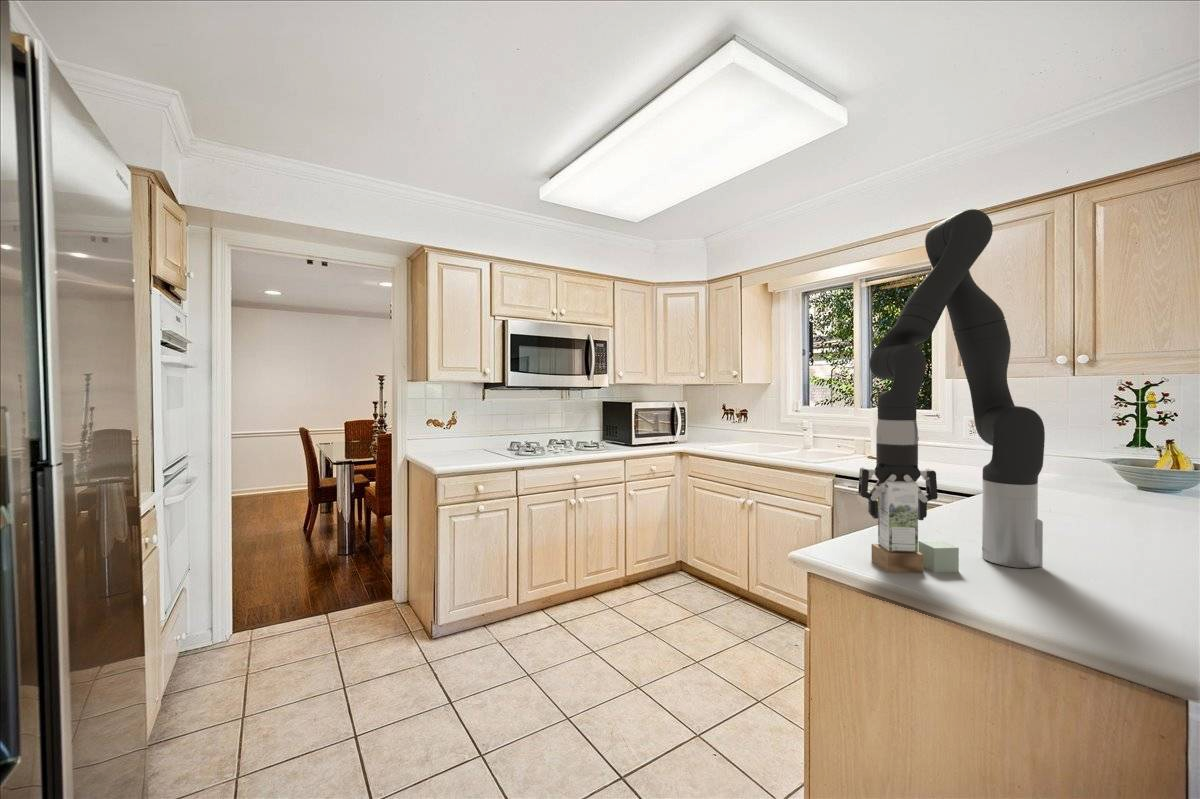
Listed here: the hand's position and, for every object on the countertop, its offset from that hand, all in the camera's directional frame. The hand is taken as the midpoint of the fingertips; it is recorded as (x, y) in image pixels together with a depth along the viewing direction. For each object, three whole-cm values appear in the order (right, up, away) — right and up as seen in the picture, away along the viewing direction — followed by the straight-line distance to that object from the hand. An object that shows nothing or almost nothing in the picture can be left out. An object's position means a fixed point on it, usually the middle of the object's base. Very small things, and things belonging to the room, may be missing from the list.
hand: (896, 518), depth 107 cm
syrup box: (0, -7, 0) cm, 7 cm away
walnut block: (0, -10, 0) cm, 10 cm away
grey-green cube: (+8, -10, -1) cm, 13 cm away
